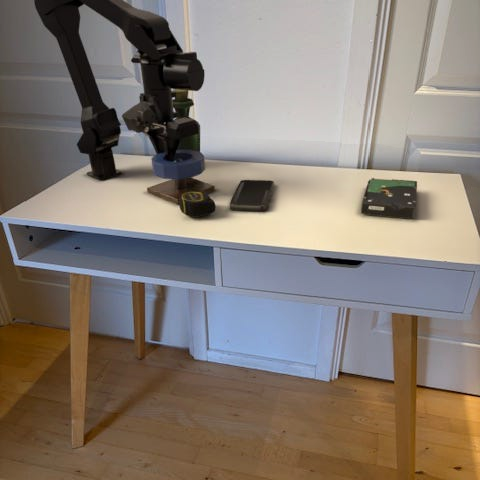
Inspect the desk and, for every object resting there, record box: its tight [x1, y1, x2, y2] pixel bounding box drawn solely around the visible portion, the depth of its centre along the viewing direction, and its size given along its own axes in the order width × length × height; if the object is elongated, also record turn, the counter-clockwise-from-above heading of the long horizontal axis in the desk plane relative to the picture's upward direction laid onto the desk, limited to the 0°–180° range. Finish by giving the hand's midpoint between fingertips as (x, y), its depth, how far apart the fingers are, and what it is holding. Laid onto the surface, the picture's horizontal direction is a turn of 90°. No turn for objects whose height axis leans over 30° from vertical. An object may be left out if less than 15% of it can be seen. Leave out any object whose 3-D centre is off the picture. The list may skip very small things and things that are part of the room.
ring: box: [150, 150, 206, 180], centre depth 109 cm, size 11×11×3 cm
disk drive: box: [360, 177, 418, 219], centre depth 102 cm, size 10×3×15 cm
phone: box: [229, 179, 275, 212], centre depth 108 cm, size 8×1×15 cm
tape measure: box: [178, 191, 217, 218], centre depth 101 cm, size 7×7×4 cm
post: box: [146, 159, 216, 206], centre depth 110 cm, size 11×11×8 cm
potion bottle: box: [172, 89, 201, 152], centre depth 122 cm, size 8×8×18 cm
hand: (166, 162), depth 111 cm, fingers closed on ring, 2 cm apart
